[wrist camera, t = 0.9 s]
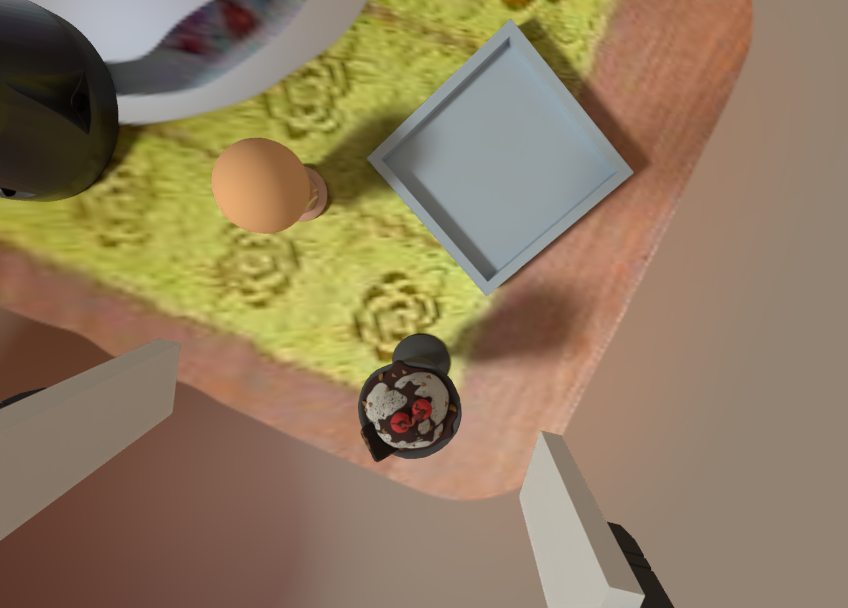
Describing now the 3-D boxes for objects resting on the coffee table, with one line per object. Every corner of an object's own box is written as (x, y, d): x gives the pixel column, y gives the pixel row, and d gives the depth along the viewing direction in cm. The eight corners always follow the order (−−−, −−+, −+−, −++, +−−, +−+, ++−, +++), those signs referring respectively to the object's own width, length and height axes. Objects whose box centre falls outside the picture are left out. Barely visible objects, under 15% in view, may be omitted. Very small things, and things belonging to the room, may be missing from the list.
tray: (371, 161, 35) (366, 158, 33) (507, 30, 33) (510, 18, 31) (484, 292, 36) (486, 296, 34) (623, 175, 34) (633, 172, 32)
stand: (264, 191, 36) (236, 187, 31) (301, 154, 35) (278, 144, 31) (301, 232, 36) (278, 234, 32) (338, 196, 36) (321, 192, 31)
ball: (223, 186, 32) (170, 179, 26) (280, 127, 31) (239, 105, 25) (280, 249, 32) (242, 255, 26) (338, 193, 31) (312, 187, 25)
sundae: (455, 319, 37) (456, 383, 22) (462, 394, 38) (468, 502, 23) (378, 326, 38) (330, 394, 23) (388, 400, 39) (348, 509, 24)
